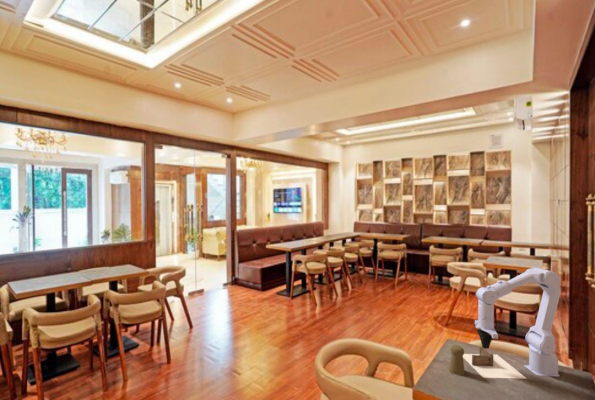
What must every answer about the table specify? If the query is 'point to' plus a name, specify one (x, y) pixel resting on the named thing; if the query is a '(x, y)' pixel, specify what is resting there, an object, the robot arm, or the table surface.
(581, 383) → the table surface
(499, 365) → the card
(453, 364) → the cork
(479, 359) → the fence gate
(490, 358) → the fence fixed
